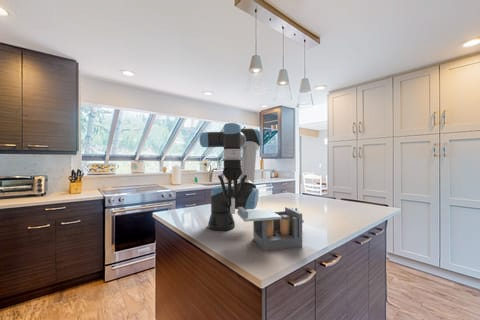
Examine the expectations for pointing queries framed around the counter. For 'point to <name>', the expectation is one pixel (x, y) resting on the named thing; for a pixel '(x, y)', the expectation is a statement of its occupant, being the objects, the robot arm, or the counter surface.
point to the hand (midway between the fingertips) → (232, 213)
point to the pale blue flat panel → (257, 215)
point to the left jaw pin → (269, 228)
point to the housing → (277, 239)
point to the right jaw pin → (285, 225)
